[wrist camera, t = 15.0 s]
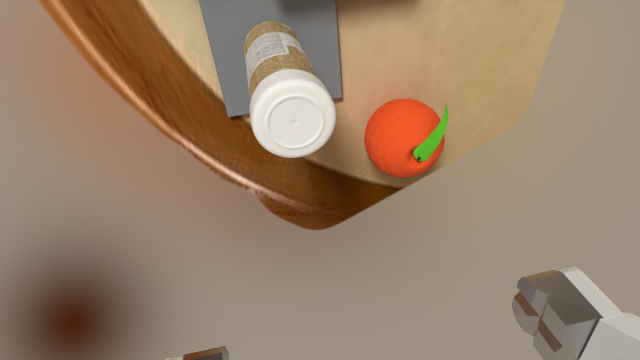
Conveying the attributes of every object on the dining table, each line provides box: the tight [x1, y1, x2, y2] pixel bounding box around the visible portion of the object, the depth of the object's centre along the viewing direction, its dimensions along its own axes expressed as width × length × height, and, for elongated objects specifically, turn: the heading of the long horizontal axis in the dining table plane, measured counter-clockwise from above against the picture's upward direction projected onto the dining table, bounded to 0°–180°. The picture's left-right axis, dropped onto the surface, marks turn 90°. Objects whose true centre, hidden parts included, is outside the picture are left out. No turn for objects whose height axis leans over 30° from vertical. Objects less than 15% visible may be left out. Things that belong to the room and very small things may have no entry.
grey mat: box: [199, 0, 342, 117], centre depth 32 cm, size 10×10×1 cm
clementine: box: [364, 99, 448, 178], centre depth 35 cm, size 8×7×7 cm
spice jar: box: [243, 21, 336, 158], centre depth 26 cm, size 5×5×14 cm
